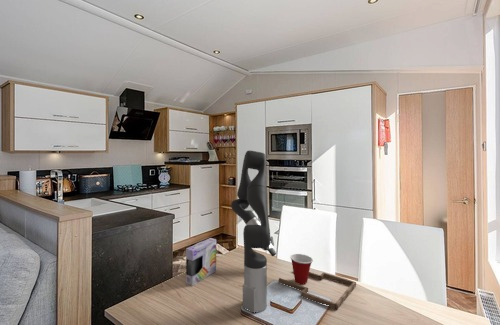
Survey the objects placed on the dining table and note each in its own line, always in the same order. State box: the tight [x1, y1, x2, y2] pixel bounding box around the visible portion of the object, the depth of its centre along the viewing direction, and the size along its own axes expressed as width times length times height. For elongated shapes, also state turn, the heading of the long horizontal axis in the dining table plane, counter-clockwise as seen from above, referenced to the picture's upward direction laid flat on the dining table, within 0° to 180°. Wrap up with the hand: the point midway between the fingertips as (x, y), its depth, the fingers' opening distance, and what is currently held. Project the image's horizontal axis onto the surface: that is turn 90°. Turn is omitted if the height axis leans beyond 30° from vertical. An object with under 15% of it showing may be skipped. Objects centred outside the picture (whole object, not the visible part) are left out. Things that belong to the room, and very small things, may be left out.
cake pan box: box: [185, 237, 217, 287], centre depth 129 cm, size 19×5×18 cm, turn 148°
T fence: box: [278, 271, 357, 311], centre depth 121 cm, size 24×30×2 cm
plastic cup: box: [289, 253, 314, 285], centre depth 125 cm, size 11×11×12 cm
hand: (274, 255), depth 135 cm, fingers closed
